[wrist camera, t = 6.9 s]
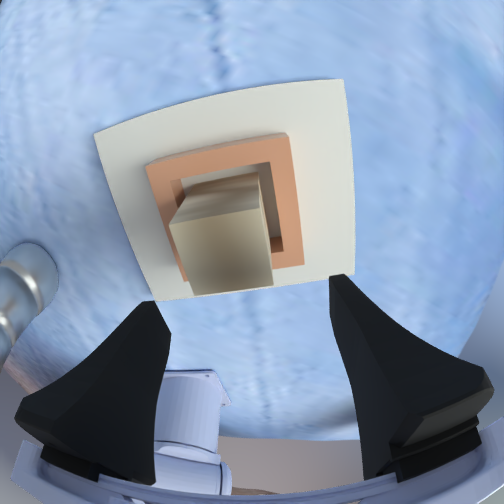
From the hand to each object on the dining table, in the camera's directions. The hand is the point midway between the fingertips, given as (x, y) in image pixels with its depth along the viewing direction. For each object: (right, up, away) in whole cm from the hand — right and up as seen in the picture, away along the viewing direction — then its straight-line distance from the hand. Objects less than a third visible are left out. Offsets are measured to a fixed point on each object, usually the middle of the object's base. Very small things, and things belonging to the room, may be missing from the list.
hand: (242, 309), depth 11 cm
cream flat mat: (-1, +6, +7) cm, 9 cm away
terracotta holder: (-1, +5, +7) cm, 8 cm away
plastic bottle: (-20, +1, +11) cm, 23 cm away
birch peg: (-1, +5, +7) cm, 8 cm away
